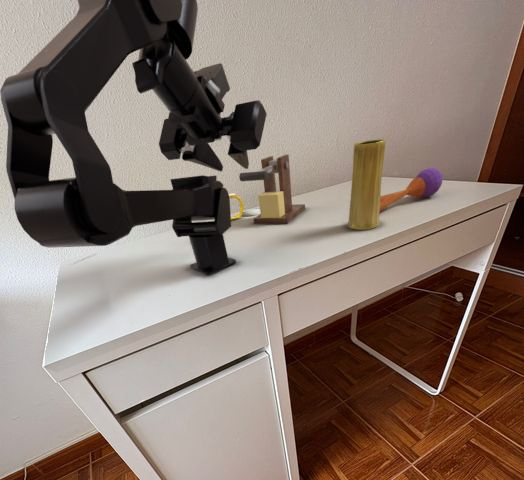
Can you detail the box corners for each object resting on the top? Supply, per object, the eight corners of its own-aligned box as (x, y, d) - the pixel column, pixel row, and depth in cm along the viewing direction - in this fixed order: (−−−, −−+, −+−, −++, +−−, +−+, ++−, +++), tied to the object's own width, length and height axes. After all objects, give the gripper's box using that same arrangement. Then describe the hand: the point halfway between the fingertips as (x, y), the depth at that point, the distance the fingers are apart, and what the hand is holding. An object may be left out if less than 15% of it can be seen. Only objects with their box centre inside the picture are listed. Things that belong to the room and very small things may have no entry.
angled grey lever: (265, 182, 59) (263, 169, 58) (240, 184, 62) (238, 171, 60) (290, 169, 68) (289, 157, 66) (267, 171, 70) (266, 160, 69)
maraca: (360, 193, 65) (425, 167, 70) (363, 221, 68) (425, 193, 73) (381, 190, 60) (448, 162, 65) (383, 220, 63) (448, 191, 68)
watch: (227, 222, 76) (222, 197, 73) (222, 221, 78) (217, 196, 75) (246, 216, 79) (242, 192, 75) (241, 215, 80) (237, 191, 77)
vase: (384, 222, 60) (394, 137, 51) (369, 231, 57) (377, 143, 48) (357, 219, 64) (362, 140, 55) (342, 228, 61) (344, 145, 52)
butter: (279, 218, 69) (277, 194, 66) (261, 218, 71) (258, 195, 68) (285, 213, 71) (283, 191, 68) (266, 214, 73) (264, 192, 70)
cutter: (287, 223, 68) (282, 159, 61) (254, 223, 72) (245, 163, 64) (305, 209, 76) (302, 150, 68) (274, 209, 80) (268, 154, 72)
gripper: (250, 17, 37) (289, 119, 51) (144, 53, 45) (203, 133, 59) (232, 100, 37) (276, 180, 51) (128, 122, 44) (191, 186, 59)
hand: (234, 167), depth 55 cm, fingers open, 5 cm apart
